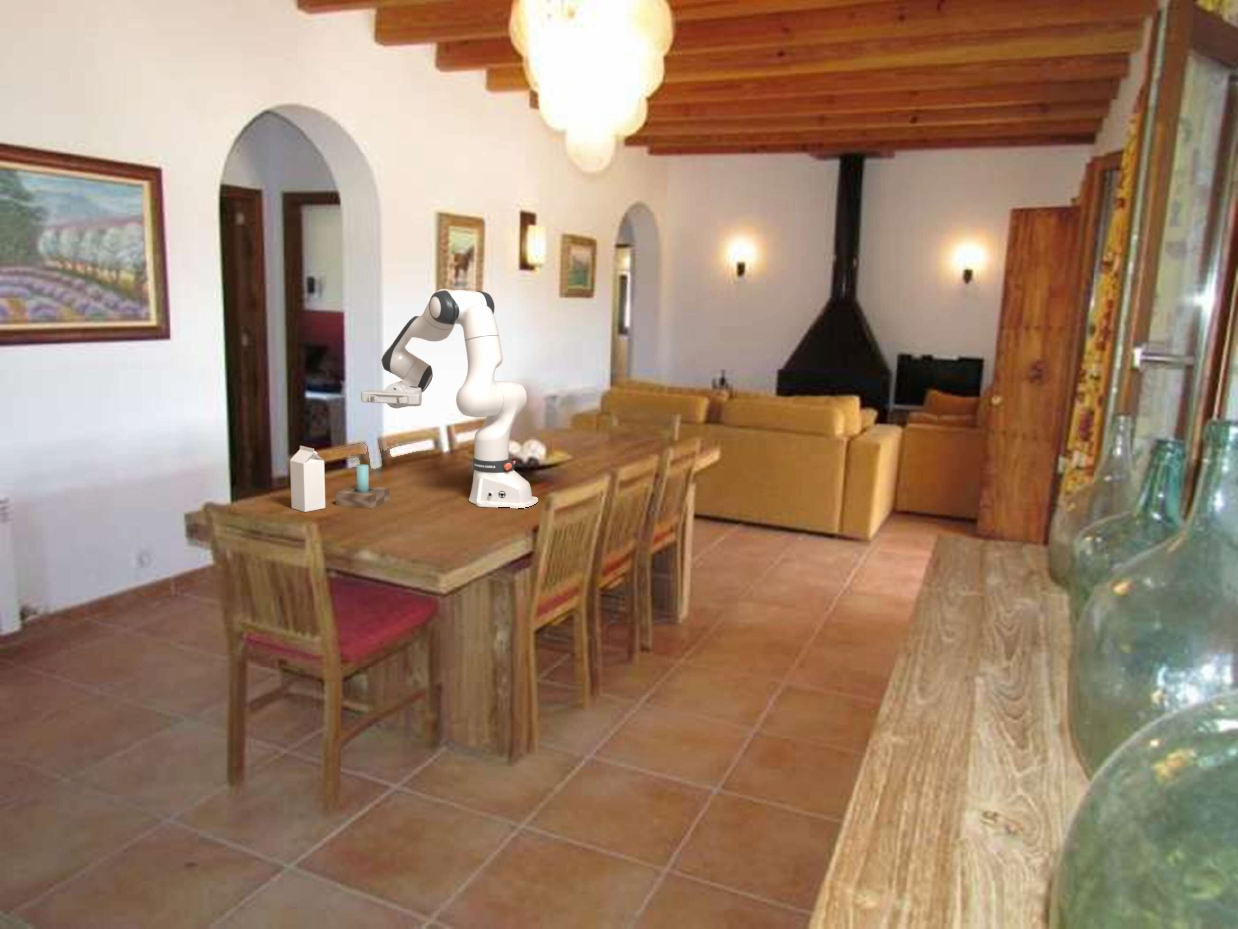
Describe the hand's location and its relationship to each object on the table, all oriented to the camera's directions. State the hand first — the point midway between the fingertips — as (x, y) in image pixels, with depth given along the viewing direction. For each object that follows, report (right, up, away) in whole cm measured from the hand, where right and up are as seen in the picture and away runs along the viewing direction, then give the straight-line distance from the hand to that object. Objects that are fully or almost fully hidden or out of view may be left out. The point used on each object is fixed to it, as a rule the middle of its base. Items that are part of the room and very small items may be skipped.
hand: (384, 400), depth 293 cm
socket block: (-3, -34, -16) cm, 38 cm away
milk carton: (-16, -35, -26) cm, 47 cm away
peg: (-2, -34, -16) cm, 37 cm away
